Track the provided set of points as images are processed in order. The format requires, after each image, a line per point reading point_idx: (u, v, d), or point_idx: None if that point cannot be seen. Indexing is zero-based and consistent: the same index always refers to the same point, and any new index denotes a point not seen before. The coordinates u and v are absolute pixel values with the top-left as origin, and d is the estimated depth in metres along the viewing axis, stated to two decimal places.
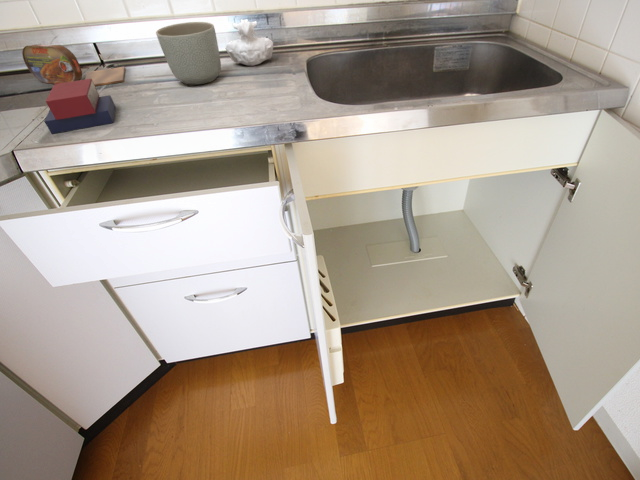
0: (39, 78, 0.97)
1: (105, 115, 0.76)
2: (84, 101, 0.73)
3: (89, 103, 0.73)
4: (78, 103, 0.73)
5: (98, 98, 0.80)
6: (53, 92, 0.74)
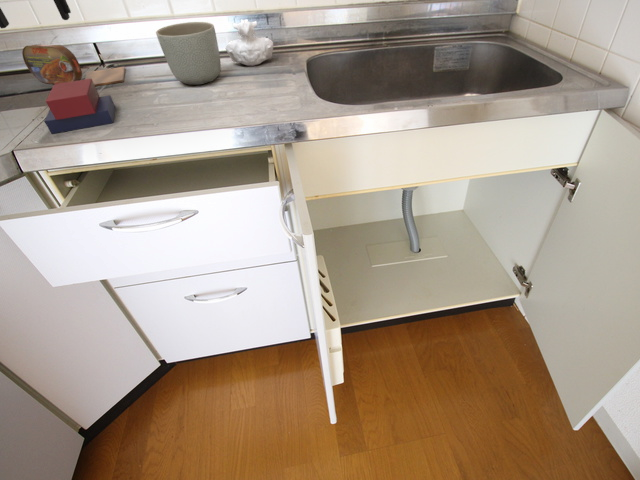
0: (39, 78, 0.97)
1: (105, 115, 0.76)
2: (84, 101, 0.73)
3: (89, 103, 0.73)
4: (78, 103, 0.73)
5: (98, 98, 0.80)
6: (53, 92, 0.74)
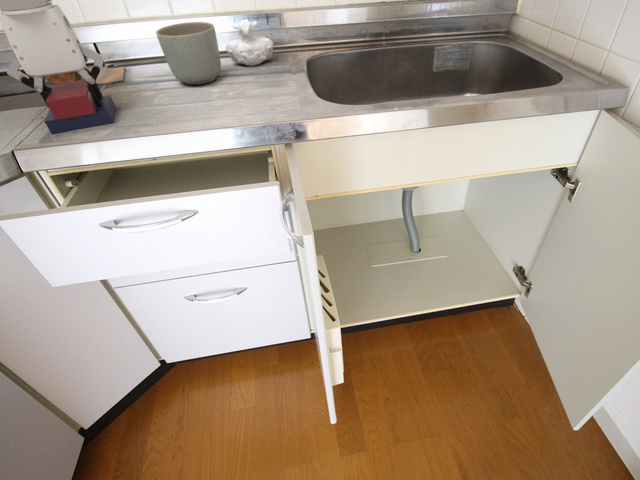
0: None
1: (105, 115, 0.76)
2: (84, 101, 0.73)
3: (89, 103, 0.73)
4: (78, 103, 0.73)
5: None
6: (53, 92, 0.74)
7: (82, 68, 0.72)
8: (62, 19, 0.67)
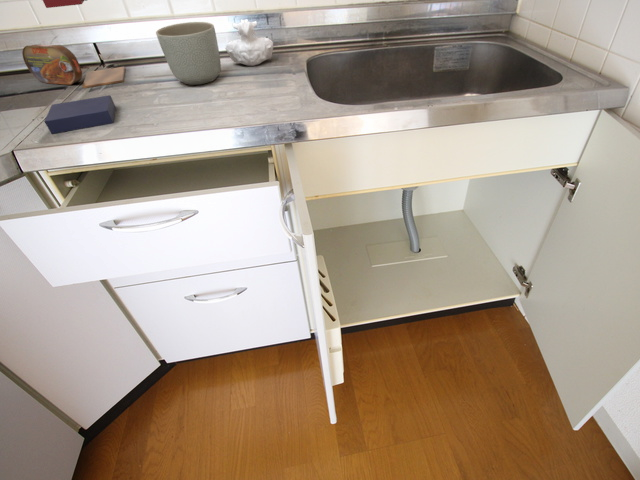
0: (39, 78, 0.97)
1: (105, 115, 0.76)
2: None
3: None
4: None
5: None
6: None
7: None
8: None
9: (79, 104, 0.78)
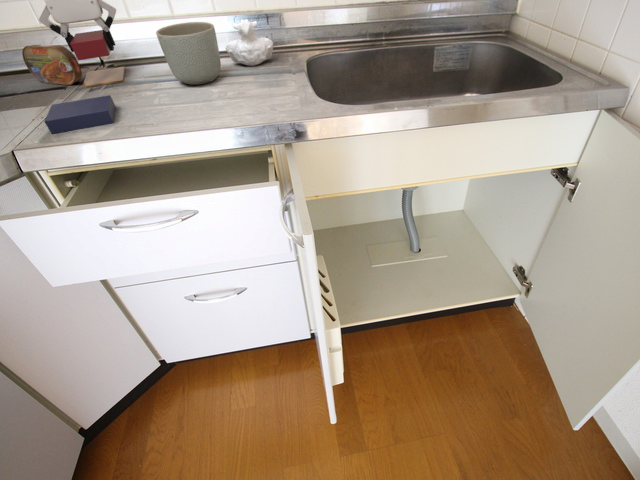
0: (39, 78, 0.97)
1: (105, 115, 0.76)
2: (101, 44, 0.90)
3: (104, 46, 0.90)
4: (96, 46, 0.90)
5: None
6: (75, 38, 0.91)
7: (99, 17, 0.89)
8: None
9: (79, 104, 0.78)
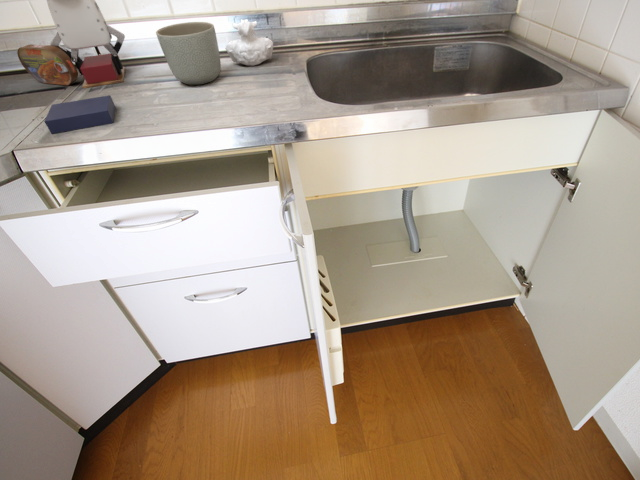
0: (37, 78, 0.97)
1: (105, 115, 0.76)
2: (110, 69, 0.93)
3: (113, 71, 0.94)
4: (105, 70, 0.93)
5: None
6: (85, 62, 0.94)
7: (108, 43, 0.93)
8: (94, 4, 0.88)
9: (79, 104, 0.78)
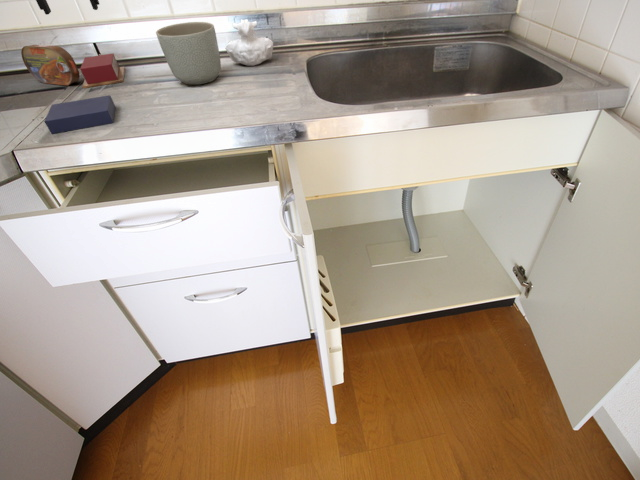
0: (38, 78, 0.97)
1: (105, 115, 0.76)
2: (110, 69, 0.93)
3: (113, 71, 0.94)
4: (105, 71, 0.93)
5: None
6: (85, 63, 0.94)
7: None
8: None
9: (78, 104, 0.78)
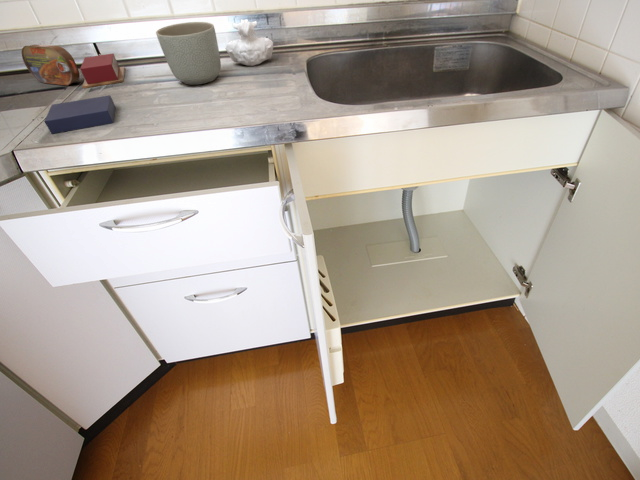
0: (38, 78, 0.97)
1: (105, 115, 0.76)
2: (110, 69, 0.93)
3: (113, 71, 0.94)
4: (105, 71, 0.93)
5: None
6: (85, 63, 0.94)
7: None
8: None
9: (78, 104, 0.78)
